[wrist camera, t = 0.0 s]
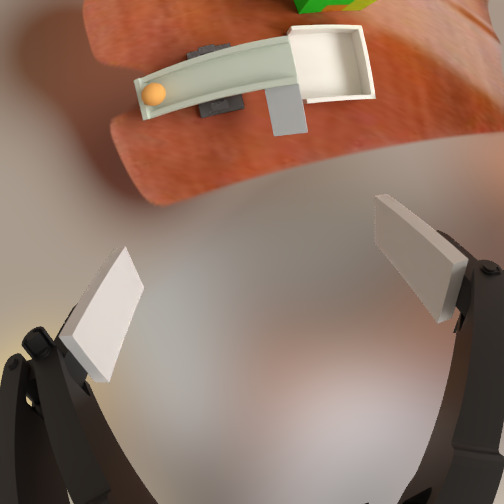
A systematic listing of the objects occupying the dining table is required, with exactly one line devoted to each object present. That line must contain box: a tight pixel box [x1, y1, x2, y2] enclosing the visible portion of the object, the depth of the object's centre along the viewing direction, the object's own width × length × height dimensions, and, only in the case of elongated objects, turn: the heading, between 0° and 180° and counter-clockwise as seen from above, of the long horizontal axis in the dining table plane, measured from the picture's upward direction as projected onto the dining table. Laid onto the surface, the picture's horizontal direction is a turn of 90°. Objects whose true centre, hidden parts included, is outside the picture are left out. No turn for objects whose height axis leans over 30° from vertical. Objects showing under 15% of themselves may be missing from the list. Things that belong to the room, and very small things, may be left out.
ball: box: [141, 83, 166, 106], centre depth 30 cm, size 3×3×3 cm
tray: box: [287, 25, 376, 104], centre depth 31 cm, size 11×10×4 cm
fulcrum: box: [186, 43, 245, 118], centre depth 31 cm, size 6×10×4 cm, turn 11°
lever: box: [134, 36, 308, 136], centre depth 30 cm, size 20×12×3 cm, turn 102°
